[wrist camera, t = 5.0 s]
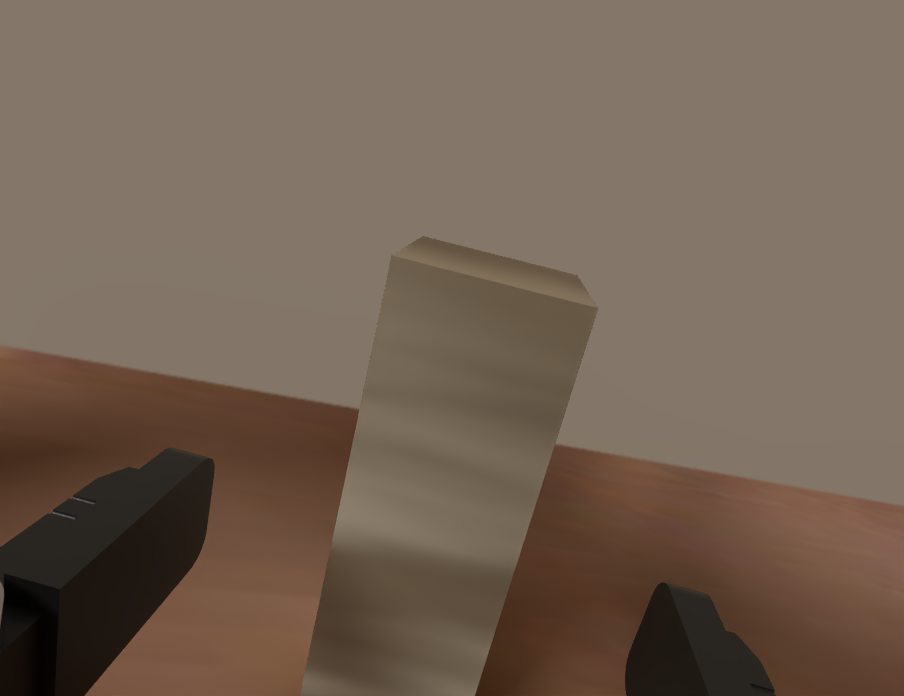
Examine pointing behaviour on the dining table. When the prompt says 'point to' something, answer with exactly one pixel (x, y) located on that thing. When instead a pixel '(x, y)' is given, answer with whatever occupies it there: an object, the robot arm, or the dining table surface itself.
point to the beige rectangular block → (444, 468)
